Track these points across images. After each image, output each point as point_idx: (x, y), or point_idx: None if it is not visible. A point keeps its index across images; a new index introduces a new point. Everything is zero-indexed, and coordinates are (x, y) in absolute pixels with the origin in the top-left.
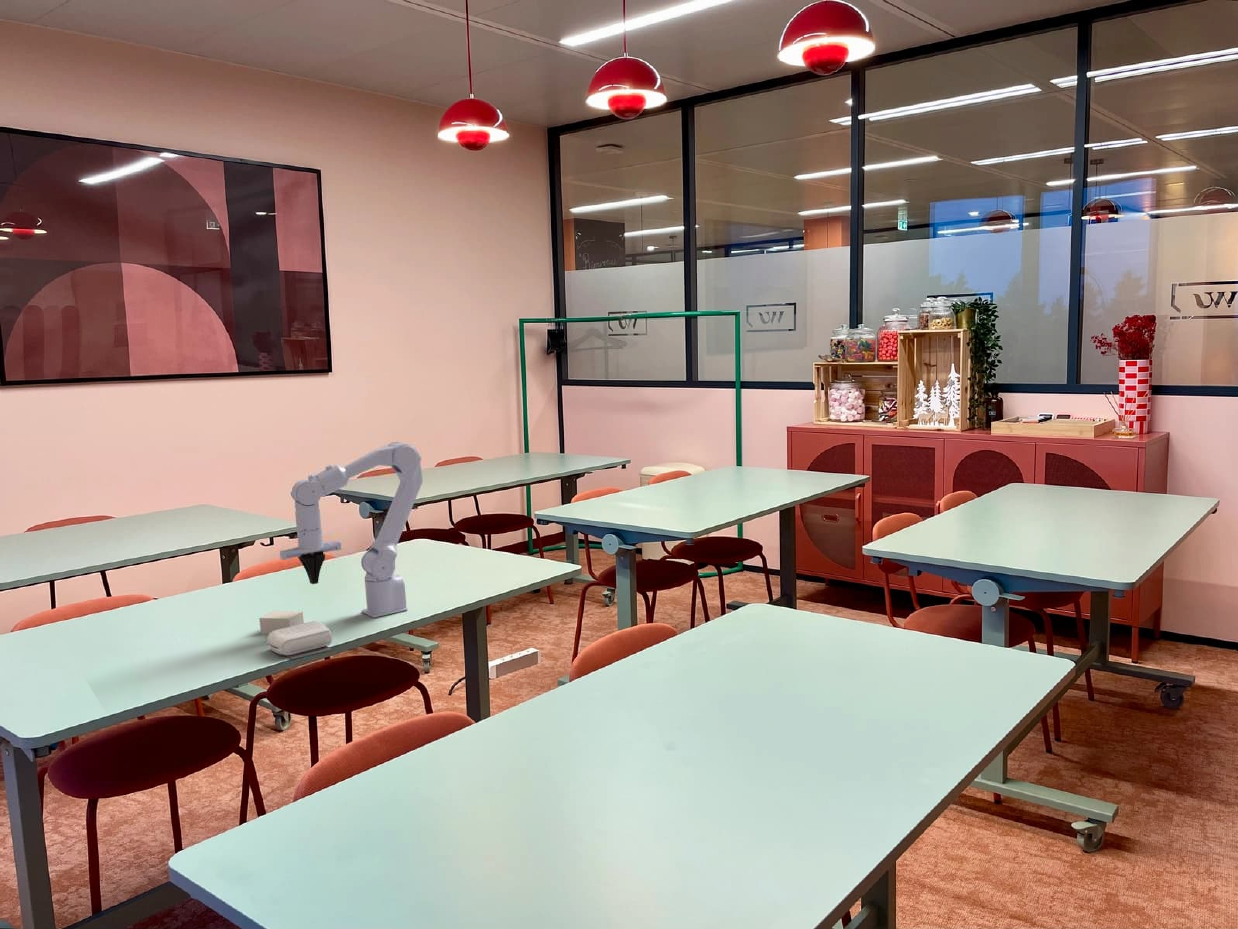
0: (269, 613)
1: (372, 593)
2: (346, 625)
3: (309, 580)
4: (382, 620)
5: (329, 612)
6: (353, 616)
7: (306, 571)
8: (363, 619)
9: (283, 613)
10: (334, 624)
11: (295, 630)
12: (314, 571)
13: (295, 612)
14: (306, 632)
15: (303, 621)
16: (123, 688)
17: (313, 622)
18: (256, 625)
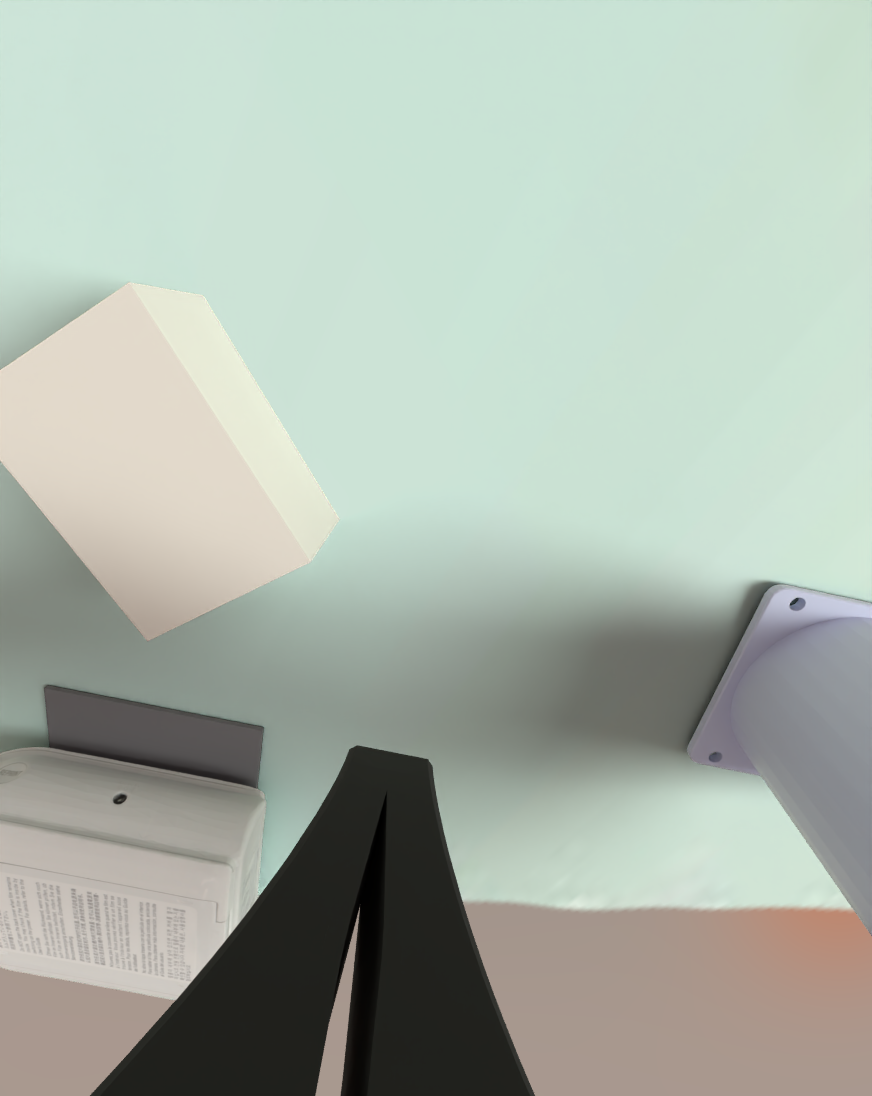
0: (67, 337)
1: (820, 855)
2: (506, 725)
3: (339, 774)
4: (674, 810)
5: (670, 354)
6: (665, 613)
7: (259, 909)
8: (642, 715)
9: (167, 469)
10: (480, 653)
11: (64, 928)
12: (352, 1035)
13: (255, 536)
14: (106, 977)
15: (329, 532)
16: None
17: (198, 905)
18: (83, 115)
